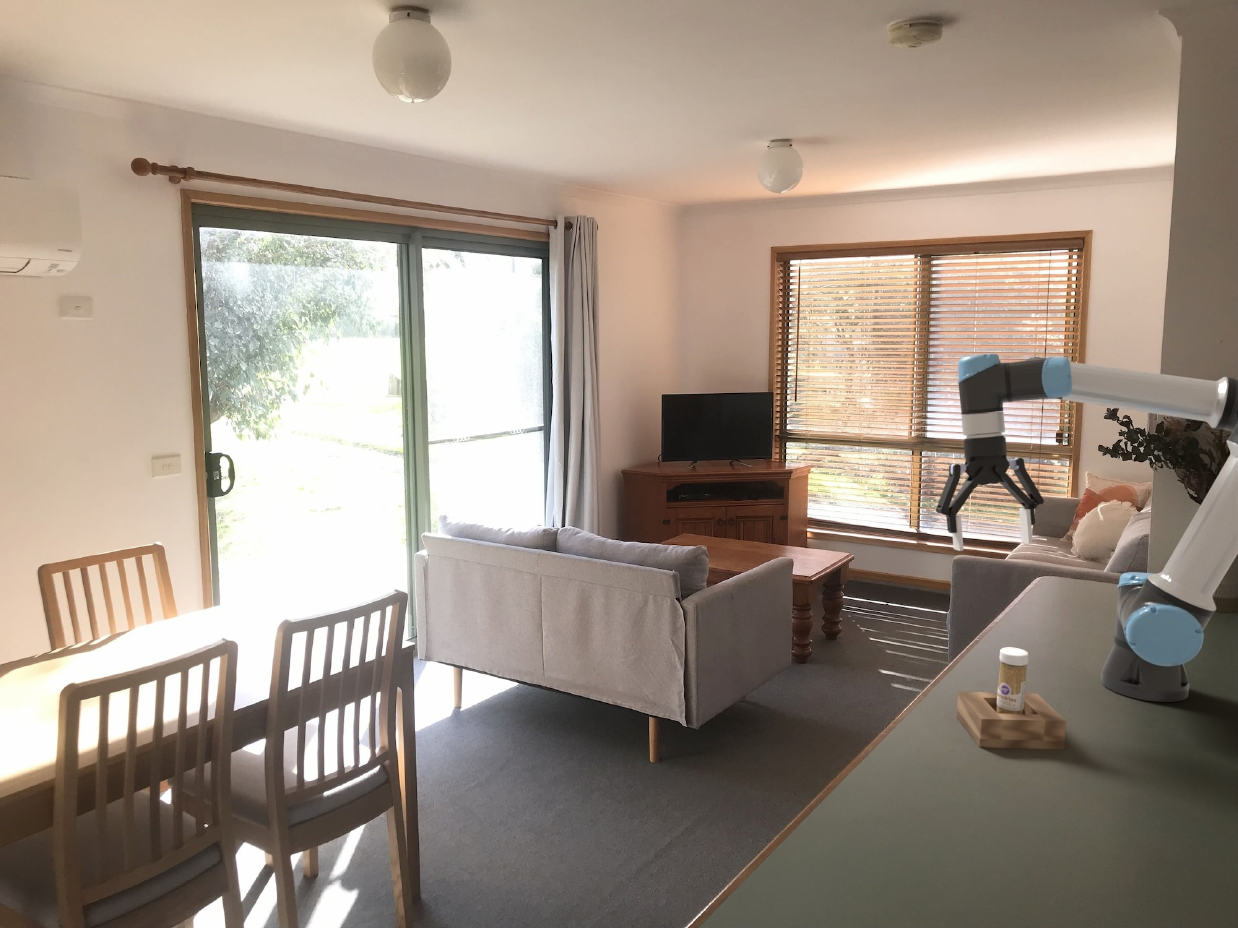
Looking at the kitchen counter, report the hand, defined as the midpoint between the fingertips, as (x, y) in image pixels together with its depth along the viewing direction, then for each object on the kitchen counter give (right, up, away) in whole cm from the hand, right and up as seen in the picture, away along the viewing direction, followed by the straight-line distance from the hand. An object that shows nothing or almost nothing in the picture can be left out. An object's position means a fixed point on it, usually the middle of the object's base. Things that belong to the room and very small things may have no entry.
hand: (993, 546), depth 175 cm
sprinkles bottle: (-3, -30, -15) cm, 34 cm away
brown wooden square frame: (-4, -31, -15) cm, 35 cm away
